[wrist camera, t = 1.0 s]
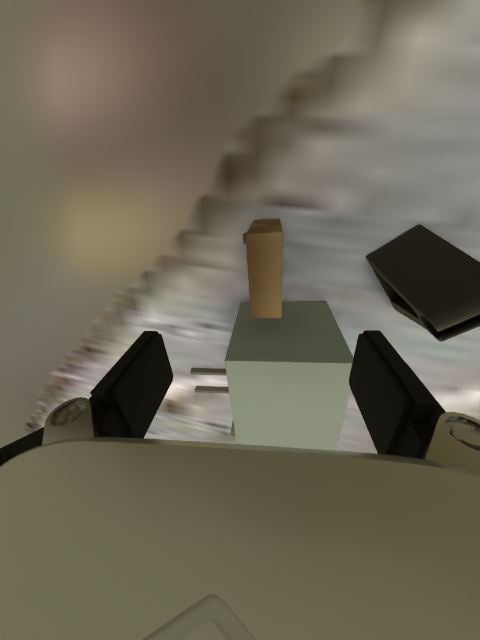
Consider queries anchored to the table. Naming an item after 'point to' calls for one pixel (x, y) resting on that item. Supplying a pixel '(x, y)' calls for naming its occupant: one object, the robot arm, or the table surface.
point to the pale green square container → (286, 377)
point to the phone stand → (430, 282)
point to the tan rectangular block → (265, 267)
